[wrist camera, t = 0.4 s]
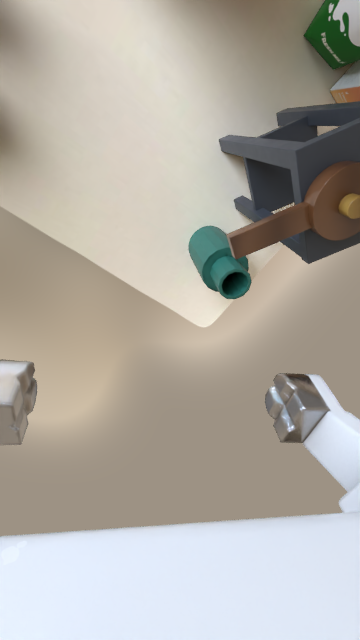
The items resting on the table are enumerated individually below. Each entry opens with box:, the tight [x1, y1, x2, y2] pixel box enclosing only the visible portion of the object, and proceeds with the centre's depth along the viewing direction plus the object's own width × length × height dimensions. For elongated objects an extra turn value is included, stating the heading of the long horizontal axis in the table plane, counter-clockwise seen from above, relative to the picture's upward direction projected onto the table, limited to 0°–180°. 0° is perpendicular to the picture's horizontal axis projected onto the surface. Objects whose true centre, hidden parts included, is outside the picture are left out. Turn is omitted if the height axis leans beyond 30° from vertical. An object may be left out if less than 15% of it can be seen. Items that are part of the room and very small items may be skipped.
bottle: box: [189, 226, 251, 299], centre depth 50 cm, size 8×8×17 cm
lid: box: [227, 161, 360, 259], centre depth 28 cm, size 15×7×3 cm, turn 110°
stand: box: [219, 101, 360, 264], centre depth 40 cm, size 12×12×26 cm
